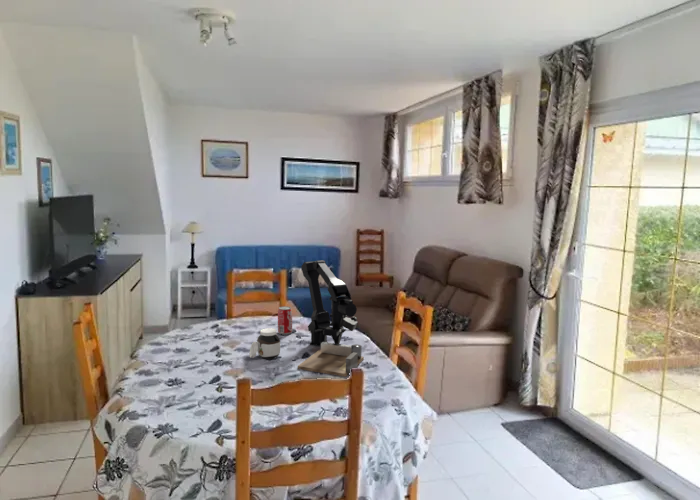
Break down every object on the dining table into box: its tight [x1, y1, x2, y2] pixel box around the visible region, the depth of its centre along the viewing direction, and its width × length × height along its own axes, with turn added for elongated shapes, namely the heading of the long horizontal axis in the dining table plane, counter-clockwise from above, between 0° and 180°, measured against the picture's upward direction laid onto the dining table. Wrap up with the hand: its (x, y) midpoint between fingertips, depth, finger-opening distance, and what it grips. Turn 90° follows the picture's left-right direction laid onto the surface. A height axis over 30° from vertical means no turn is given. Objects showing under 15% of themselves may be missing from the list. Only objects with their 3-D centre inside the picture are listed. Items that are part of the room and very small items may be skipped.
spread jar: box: [249, 327, 281, 360], centre depth 213 cm, size 12×11×12 cm
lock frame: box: [297, 349, 364, 378], centre depth 206 cm, size 22×21×7 cm
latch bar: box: [320, 341, 362, 359], centre depth 214 cm, size 18×4×5 cm, turn 69°
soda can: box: [277, 305, 293, 336], centre depth 247 cm, size 7×7×13 cm
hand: (337, 346), depth 219 cm, fingers closed
